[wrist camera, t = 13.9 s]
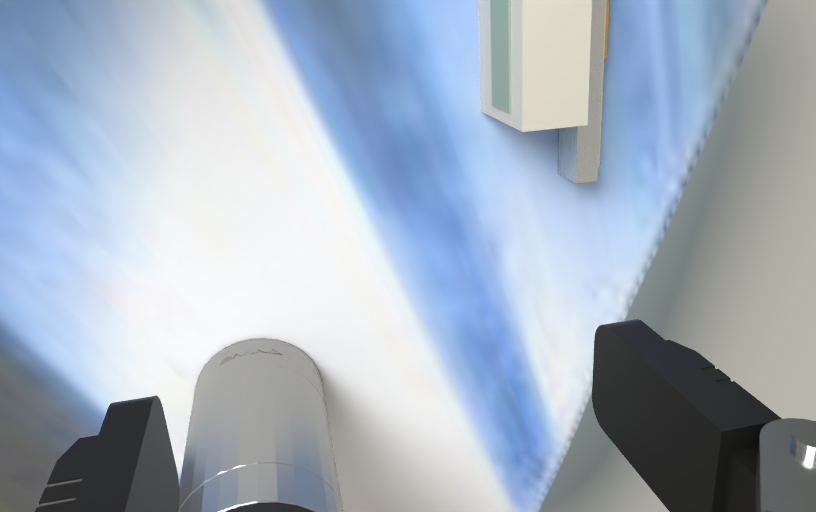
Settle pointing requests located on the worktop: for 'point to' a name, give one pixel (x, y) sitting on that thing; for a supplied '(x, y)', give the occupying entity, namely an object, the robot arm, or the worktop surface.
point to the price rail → (585, 141)
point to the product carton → (535, 62)
